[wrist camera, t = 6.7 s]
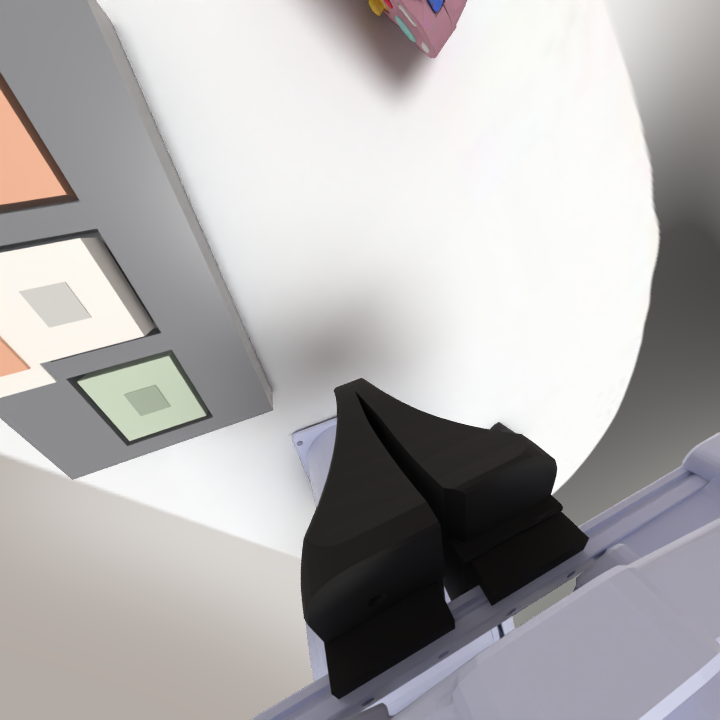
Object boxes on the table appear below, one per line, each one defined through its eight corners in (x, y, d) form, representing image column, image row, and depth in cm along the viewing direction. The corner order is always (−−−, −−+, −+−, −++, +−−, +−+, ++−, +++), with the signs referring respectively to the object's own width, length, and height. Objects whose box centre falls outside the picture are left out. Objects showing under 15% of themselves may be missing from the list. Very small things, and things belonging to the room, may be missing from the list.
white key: (155, 326, 14) (143, 336, 12) (60, 351, 13) (36, 364, 12) (100, 237, 12) (78, 238, 10) (-20, 259, 11) (-59, 263, 9)
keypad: (271, 391, 20) (273, 412, 17) (95, 449, 17) (69, 483, 15) (110, 20, 10) (67, -40, 8) (-319, 38, 8) (-556, -41, 6)
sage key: (210, 402, 18) (206, 416, 16) (139, 425, 17) (129, 441, 15) (176, 345, 15) (168, 356, 14) (93, 368, 15) (76, 382, 13)
